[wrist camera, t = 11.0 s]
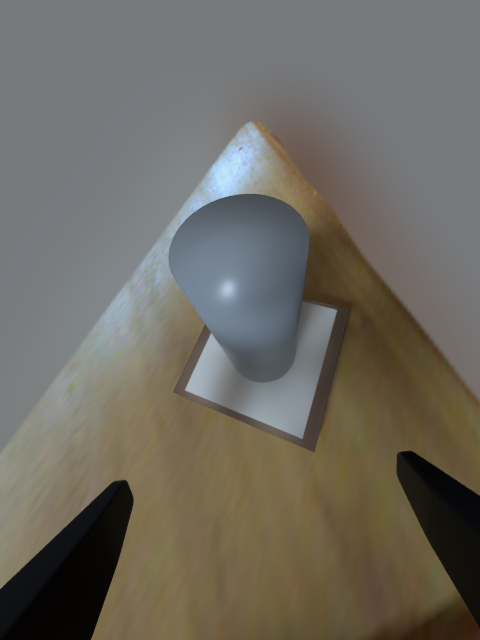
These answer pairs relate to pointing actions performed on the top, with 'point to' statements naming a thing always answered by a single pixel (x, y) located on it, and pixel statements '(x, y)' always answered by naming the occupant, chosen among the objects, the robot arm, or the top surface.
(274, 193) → the top surface
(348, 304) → the top surface
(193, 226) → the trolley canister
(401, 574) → the top surface
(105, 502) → the robot arm
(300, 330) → the plate
